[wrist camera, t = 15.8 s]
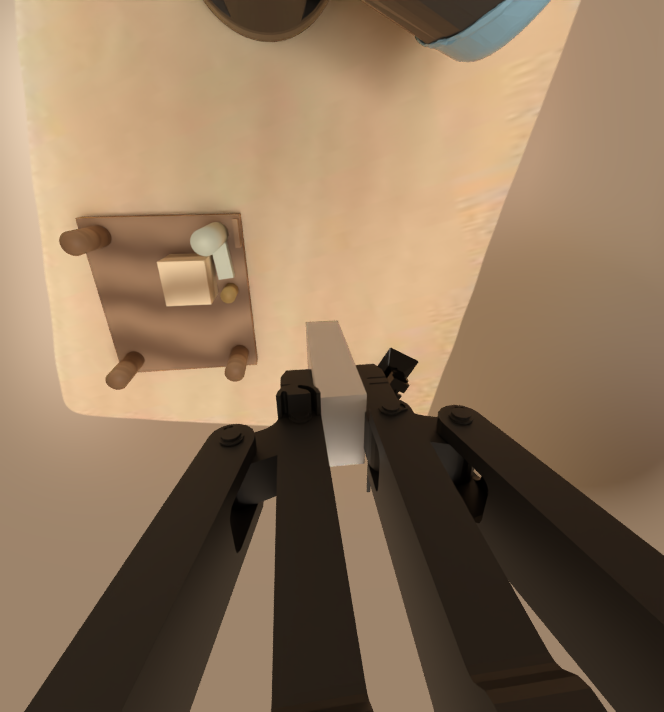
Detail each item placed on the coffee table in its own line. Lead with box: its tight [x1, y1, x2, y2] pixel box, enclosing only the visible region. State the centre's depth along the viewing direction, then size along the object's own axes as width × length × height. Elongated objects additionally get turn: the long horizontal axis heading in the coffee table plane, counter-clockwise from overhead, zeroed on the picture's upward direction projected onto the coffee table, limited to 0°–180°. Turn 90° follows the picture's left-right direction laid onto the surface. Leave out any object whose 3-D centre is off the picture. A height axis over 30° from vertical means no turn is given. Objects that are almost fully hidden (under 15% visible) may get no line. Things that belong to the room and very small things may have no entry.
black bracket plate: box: [378, 348, 418, 400], centre depth 55 cm, size 12×7×5 cm, turn 150°
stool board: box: [59, 214, 257, 390], centre depth 44 cm, size 20×18×8 cm
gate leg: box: [190, 222, 235, 280], centre depth 40 cm, size 6×3×8 cm, turn 6°
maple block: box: [157, 253, 218, 306], centre depth 42 cm, size 5×5×5 cm
